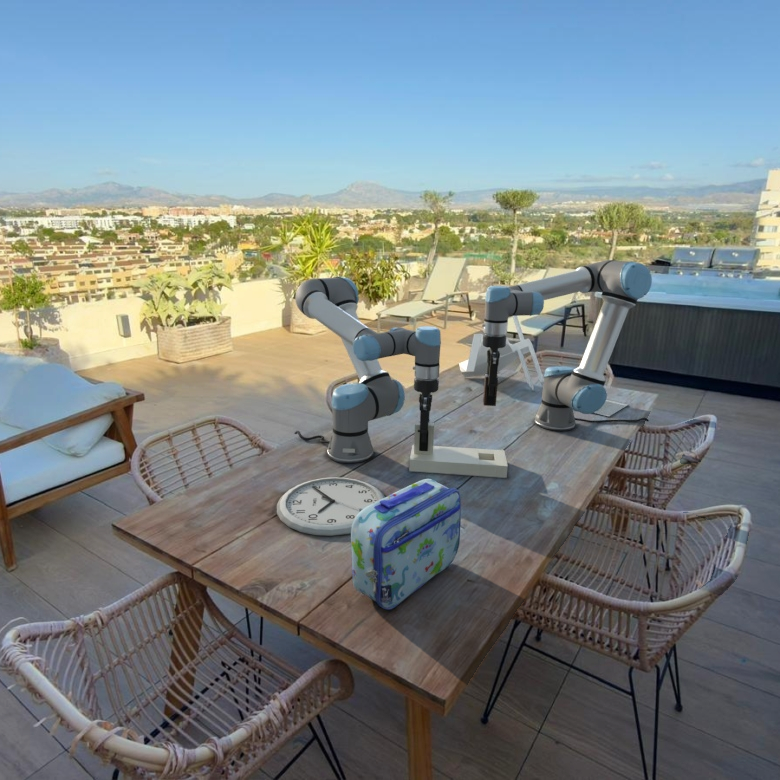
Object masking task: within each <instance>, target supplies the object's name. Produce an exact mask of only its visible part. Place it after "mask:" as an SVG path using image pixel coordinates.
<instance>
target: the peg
mask: <svg viewBox="0 0 780 780" xmlns="http://www.w3.org/2000/svg"><path fill="white" fill-rule="evenodd" d="M488 376H489V374H485V375H484V383H483V384H484V385H483V397H482V398H483V399H482V403H483V406H484V407H485V406H488V407H496V406H497V395H498V382H499V376H498V375H497V382H496V384H497V385H496V389H495V401H494V405H486V396H487V386H486V384H488Z"/></svg>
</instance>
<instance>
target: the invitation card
mask: <svg viewBox="0 0 780 780" xmlns="http://www.w3.org/2000/svg"><path fill="white" fill-rule="evenodd" d="M628 406H629V404H627V403H623V402H618V401H614V400H609V399H606V401H605V403H604V405H603V406H602V407H601V408H600V409H599V410H598V411H595V412H594V413H593V414H596V415H600V416H604V417H608V418H609V417H611V416H613V415H614V414H616V413H617V412H619V411H621V410H623V409H624V408H626V407H628Z"/></svg>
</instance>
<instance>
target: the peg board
mask: <svg viewBox="0 0 780 780" xmlns="http://www.w3.org/2000/svg"><path fill="white" fill-rule="evenodd" d="M418 430H420V421H417V420H416V421H415V422H414V438H413V439H414V440H413V441H414V442H413V444H412V445H411V451H410V456H409V465H408V466H409V469H408V470H409V472H414V473H415V472H416V473H427V474H428V473H429V474H430V473H431V474H442V475H443V474H445V475H446V474H447V475H458V476H460V475H461V476H472V477H473V476H474V477H485V478H486V477H488V478H502V479H507V478H508V469H509V468H508V467H509V465H508V461H507V457H506V451H505V450H504V449H489V448H474V447H460V446H459V447H457V446H444V445H443V446H441V445H434V440H435V421H433V422H432V421H429V422H428V430H429V433H428V451H419V440H420V432H418Z"/></svg>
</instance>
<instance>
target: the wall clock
mask: <svg viewBox="0 0 780 780" xmlns="http://www.w3.org/2000/svg"><path fill="white" fill-rule="evenodd" d="M385 497H386V496H385V494H384V493H383V492H382V491H381V490H380V489H379V488H377V487H376V486H374V485H372V484H371V483H369V482H365V481H362V480H359V479H355V478H349V477H338V476H337V477H335V476H333V477H332V476H331V477H322V478H317V479H312V480H307V481H305V482H302V483H299V484H297V485H295V486H293V487H292V488H290V489H288V490H287V491H286V492H285V493H284V494H283V495H281V496H280V498H279V499H278V502H277V503H276V515H277V517H278V518H279V520H280V521H281V522H282V523H283V524H285V525H286V526H287V527H288V528H290V529H293V530H295V531H297V532H299V533H303V534H308V535H312V536H327V537H328V536H329V537H331V536H332V537H333V536H342V535H350V534H351V529H352V524H353V521H354V519H355V517H356V516H357V514H358V513H359V512H360V511H361V510H362V509H364V508H366V507H367V506H369V505H371V504H374V503H375V502H377V501H379V500H381V499H383V498H385Z"/></svg>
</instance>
